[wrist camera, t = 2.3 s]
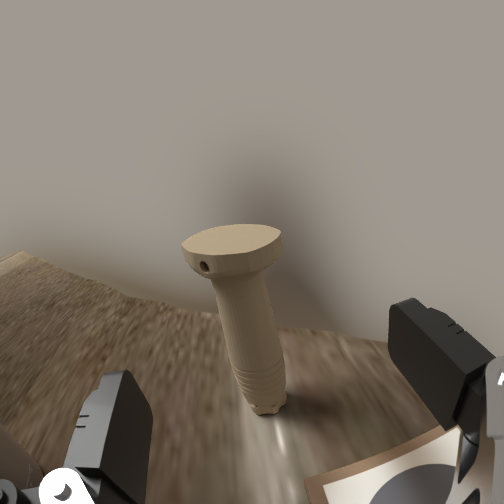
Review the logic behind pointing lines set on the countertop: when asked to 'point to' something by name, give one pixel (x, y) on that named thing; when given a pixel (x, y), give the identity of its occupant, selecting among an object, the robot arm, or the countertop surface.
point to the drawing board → (394, 474)
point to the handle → (244, 305)
